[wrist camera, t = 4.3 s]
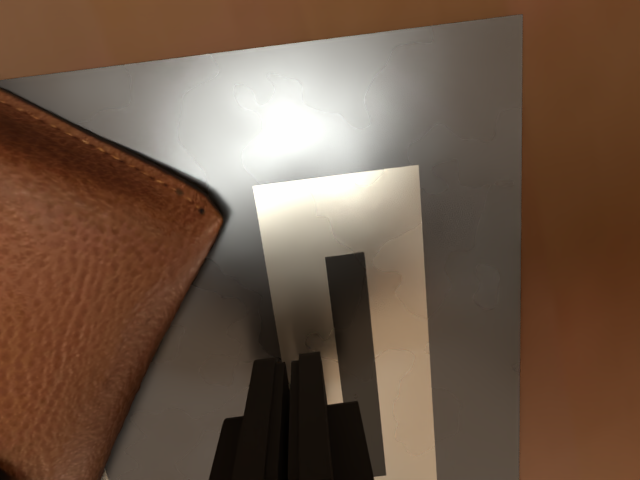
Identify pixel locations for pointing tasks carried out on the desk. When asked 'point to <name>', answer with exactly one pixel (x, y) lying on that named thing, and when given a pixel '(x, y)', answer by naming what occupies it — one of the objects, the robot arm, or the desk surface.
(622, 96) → the desk surface
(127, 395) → the sunglasses case
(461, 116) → the panel
